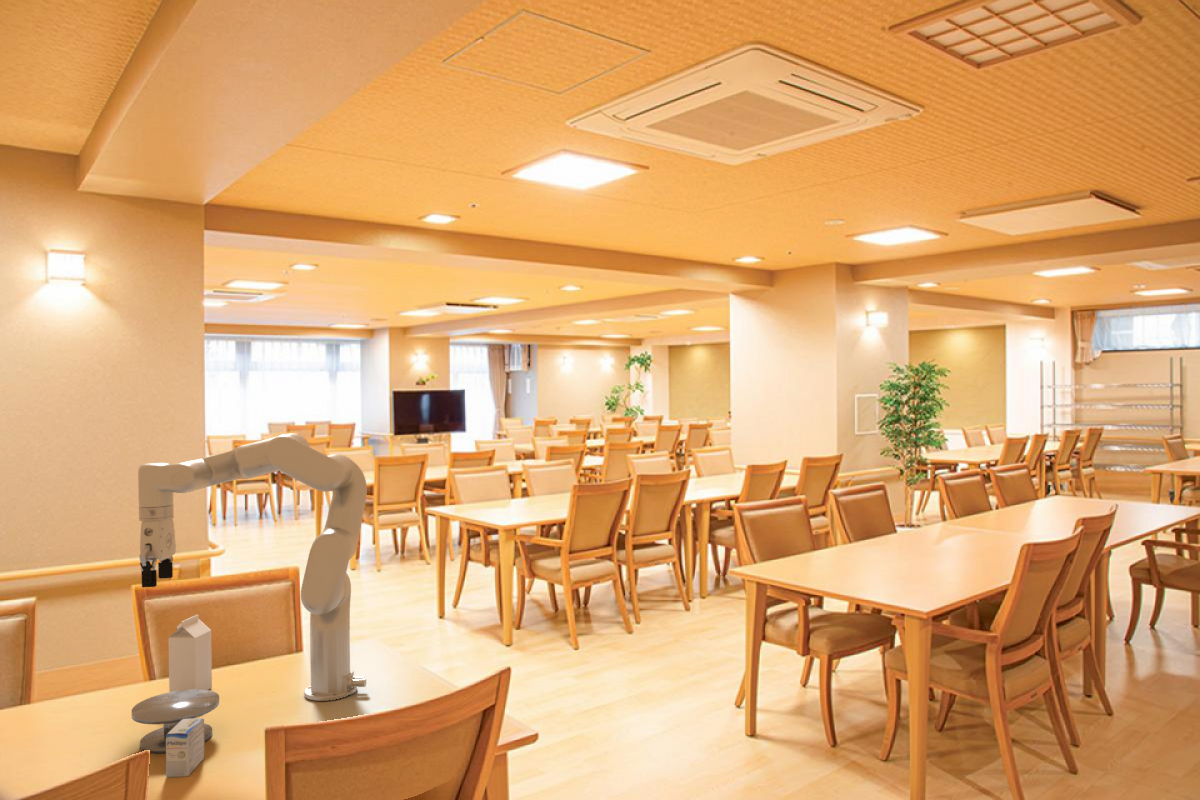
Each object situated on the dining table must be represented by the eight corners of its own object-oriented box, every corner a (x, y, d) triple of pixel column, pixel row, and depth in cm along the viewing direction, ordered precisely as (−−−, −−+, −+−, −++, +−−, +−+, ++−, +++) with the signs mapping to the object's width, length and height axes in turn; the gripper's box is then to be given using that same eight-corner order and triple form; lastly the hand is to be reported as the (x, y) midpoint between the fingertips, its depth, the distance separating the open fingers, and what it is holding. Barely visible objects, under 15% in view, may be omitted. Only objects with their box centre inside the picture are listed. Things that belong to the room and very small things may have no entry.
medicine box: (182, 760, 168) (182, 718, 168) (205, 759, 168) (204, 717, 168) (165, 778, 160) (164, 734, 160) (189, 776, 160) (188, 732, 160)
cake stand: (234, 724, 186) (233, 689, 186) (194, 757, 169) (193, 718, 169) (161, 724, 187) (160, 689, 187) (114, 756, 170) (113, 718, 170)
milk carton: (212, 688, 210) (211, 614, 210) (195, 698, 203) (194, 622, 203) (186, 687, 211) (185, 614, 211) (169, 697, 204) (168, 621, 204)
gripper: (158, 517, 193) (159, 589, 193) (185, 508, 210) (186, 574, 210) (124, 518, 192) (125, 591, 192) (154, 509, 209) (156, 575, 209)
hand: (157, 582), depth 201 cm, fingers open, 9 cm apart
